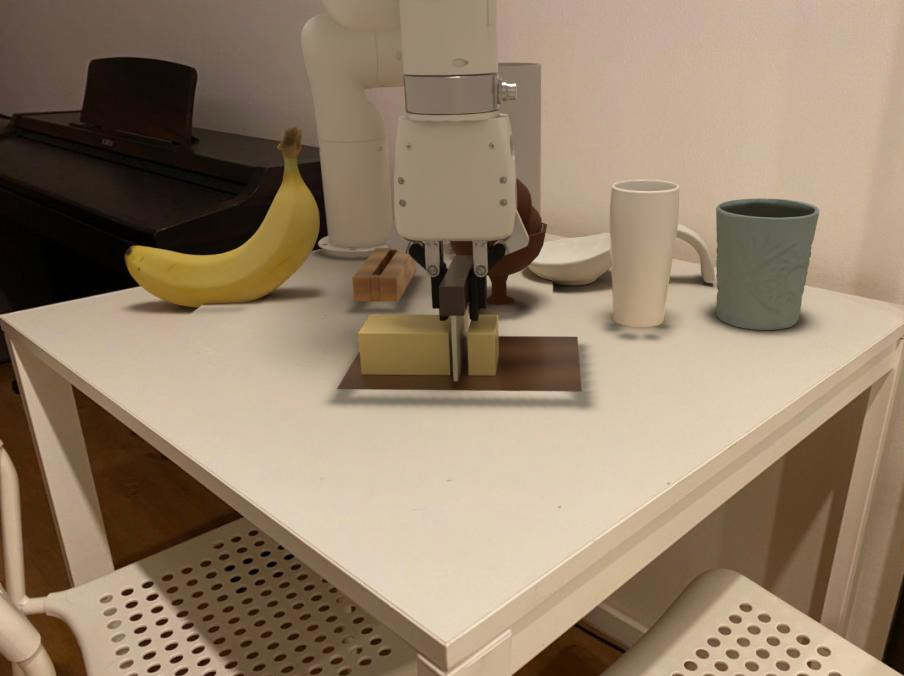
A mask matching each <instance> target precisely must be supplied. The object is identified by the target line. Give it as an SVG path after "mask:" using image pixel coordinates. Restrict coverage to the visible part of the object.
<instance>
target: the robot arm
mask: <svg viewBox="0 0 904 676" xmlns="http://www.w3.org/2000/svg"><path fill="white" fill-rule="evenodd" d="M321 3H322V6H323V8H324V10H325V12H324V13H320V14H318V15H314V16H313V17H311V18H310V19H309V20H307V21H306V23H305V24H304V25H303V28H302V29H301V32H300V33H301V34H300V46H301V47H300V48H301V54H302V59H303V62H304V67H305V71H306V74H307V78H308V83H309V86H310V92H311V96H312V101H313V102H312V104H313V109H314V115H315V116H314V117H315V125H316V133H317V142H318V143H317V144H318V151H319V161H320V170H321V181H322V191H323V201H324V209H325V210H324V211H325V219H326V229H327V230H326V231H327V236H323V237H322V238H321V239H319V240H318V242H317V246H318V247H319V248H320V249H322V250H325V251H329V252H335V253H348V254H351V253H352V254H353V253H355V254H356V253H358V254H359V253H369V252H371V253H372V252H373V251H374V250H375V248H392V249H395V250H397V251H399V252H402V253H404V254H408V255H410V256H411V257H412V258H413V259H414V260H415V263H417V264H418V265H419V266H420V267H422V268H423V269H424V271H425V272H426V275H427V276H429V277H430V289H431V307H432V309H433V310H434V309H435V310H436V309H437V310H438V315H439V319H440V321H446V319H448V318H449V316H440V297H439V286H440V284H441V282H442V280H443V278H444V276H445V274H446V272H447V270H448V268H449V267H447V263H446V262H445V256H444V254H445V253H444V242H450V241H473V265H472V268H471V274H470V277H469V304H468V315H469V320H471V319H472V321H478V318H479V315H481V314H480V313H481V310H487V308H488V303H487V297H488V279H487V272H488V271H489V270H490V269H491V268H492V267H493V266H494V265H495V264H496V263H497V262H498V261H499V260H500V259H501V258H502V257H503V256H505V255H507V254H510V253H513V252H515V251H517V250H520V249H522V248H524V247H526V246H527V245H528V243H529V236H528V234H527V231H526V229H525V227H524V225H523V222H522V220H521V218H520V215H519V213H518V211H517V186H516V169H515V155H514V145H513V137H512V131H511V126H510V121H509V117H508V115H507V114H500V113H499V109H498V108H499V104H502V103H503V102H507V100H516V98H517V85H516V82H508V83H507V81H502V78H499V73H496V72H498V63H499V48H498V47H499V46H498V45H499V44H498V41H499V39H498V0H321ZM399 87H403V89H404V91H403V92H404V105H405V106H404V107H405V115H400V116H398V119H397V125H396V131H395V132H396V133H395V143H394V162H393V163H394V164H393V202H392V189H391V188H392V187H391V173H390V160H389V147H388V145H389V144H388V133H387V124H386V121H385V118H384V116H383V114H382V112H381V111H380V110H379V108H378V107H377V106H376V105H375V104H374V103H373V101H371V99H369V97H368V96H367V95H366V93H365V91H366V90H368V89H369V90H370V89H376V88H377V89H378V88H399ZM393 206H394V207H393ZM393 211H394V215H393ZM500 239H501V240H500ZM493 240H497V241H495V242H494V243H493V244H492V245H491V246H490V244H489V241H493Z"/></svg>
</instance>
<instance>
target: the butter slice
mask: <svg viewBox="0 0 904 676" xmlns="http://www.w3.org/2000/svg"><path fill="white" fill-rule="evenodd" d="M499 336H500V335H499V315H498V314H479V318H478V321H472V319H470V321H469V329H468V333H467V346H468V373H469V375H475V376H495V375H496V369H497V363H498V357H499Z"/></svg>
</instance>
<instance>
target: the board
mask: <svg viewBox="0 0 904 676" xmlns="http://www.w3.org/2000/svg"><path fill="white" fill-rule="evenodd" d="M579 351H580V350H579V337H578V336H554V335H553V336H552V335H551V336H547V335H546V336H545V335H544V336H540V335H538V336H537V335H536V336H534V335H533V336H531V335H530V336H529V335H499V357H498V363H497V369H496V375H495V376H475V375H469V373H468V349H467V352H466V356H465V359H464V362H463V366H462V369H461V373H460V376H459V379H458V382H454V381H453V368H452V371H451V375H362V372H361V361H360V350H359V351H358V353H357V354H356V356H355V358H354V359H353V361H352V362H351V364H350V366H349V367H348V369H347V370H346V373H345V374H344V376H343V378H342V380H341V381H340V383H339V384H338V386H337V388H336V390H378V391H379V390H380V391H381V390H385V391H387V390H388V391H471V392H472V391H474V392H475V391H478V392H479V391H482V392H484V391H488V392H490V391H491V392H574V393H575V392H579V393H580V392H581V393H582V390H583V389H582V378H581V377H582V376H581V365H580V363H581V362H580V352H579Z"/></svg>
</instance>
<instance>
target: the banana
mask: <svg viewBox="0 0 904 676" xmlns="http://www.w3.org/2000/svg"><path fill="white" fill-rule="evenodd" d="M302 135H303V130H302V129H301V127H298V126H293V127H287V128H286V129H285V131H284V134H283V139H282V141H280V142H279V143H278V144H277V147H276V149H277V150H279V151H281V154H282V156H283V160H284V170H283V175H282V181H281V185H280V187H279V188H278V191H277V192H276V194H275V196H274V198H273V200H272V203H271V204H270V207H269V208H268V210H267V212H266V215H265V218H264V219H263V221H262V222H261V224H260V226H259V227H258V229H257V230H256V231H255V233H254V234H253V235H252V236H251V237H250V238H249V239H248V240H246V242H244V243H243V244H242V245H240V246H238V247H237V248H235V249H232V250H229V251H226V252H223V253H217V254H206V255H203V254H202V255H201V254H188V253H181V252H177V251H173V250H168V249H164V248H163V249H162V248H157V247H151V246H145V245H131V246H129V247H128V248H127V249H126V251H125V253H124V262H125V265H126V268H127V270H128V272H129V274H130V275H131V277H132V278H133V280H134V281H135V282H136V283H137V284H138V285H139V286H140V287H141V288H142V289H144V290H145V291H146V292H148V293H149V294H151V295H152V296H154V297H156V298H158V299H160V300H163V301H165V302H168V303H171V304H175V305H178V306H181V307H189V308H198V309H199V308H200V307H202V306H203V305H204V304H229V303H230V304H231V303H232V304H233V303H247V302H248V303H249V302H253V301H256V300H259V299H261V298H263V297H265V296H267V295H269V294H270V293H273V292H274V291H275V290H277V289H278V288H279V287H280V286H282V285H283V284H284V283H285V282H286V281H288V280H289V279H290V278H291V277H292V276H293V275H294V274H295V273H296V272H298V270H299V269H300V268H301V267H302V266H303V264H304V263H305V262H306V261H307V259H308V258H309V256H310V255H311V253H312V252H313V250H314V247H315V245H316V242H317V240H318V236H319V233H320V225H321V223H320V222H321V221H320V219H321V218H320V211H319V208H318V203H317V202H316V200H315V197H314V195H313V194H312V191H311V190H310V189H309V188H308V186H307V185H306V183H305V182H304V179H303V178H302V176H301V173H300V170H299V166H298V157H299V154H300V152H301V150H302V149H303V147H302V137H303V136H302Z"/></svg>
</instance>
